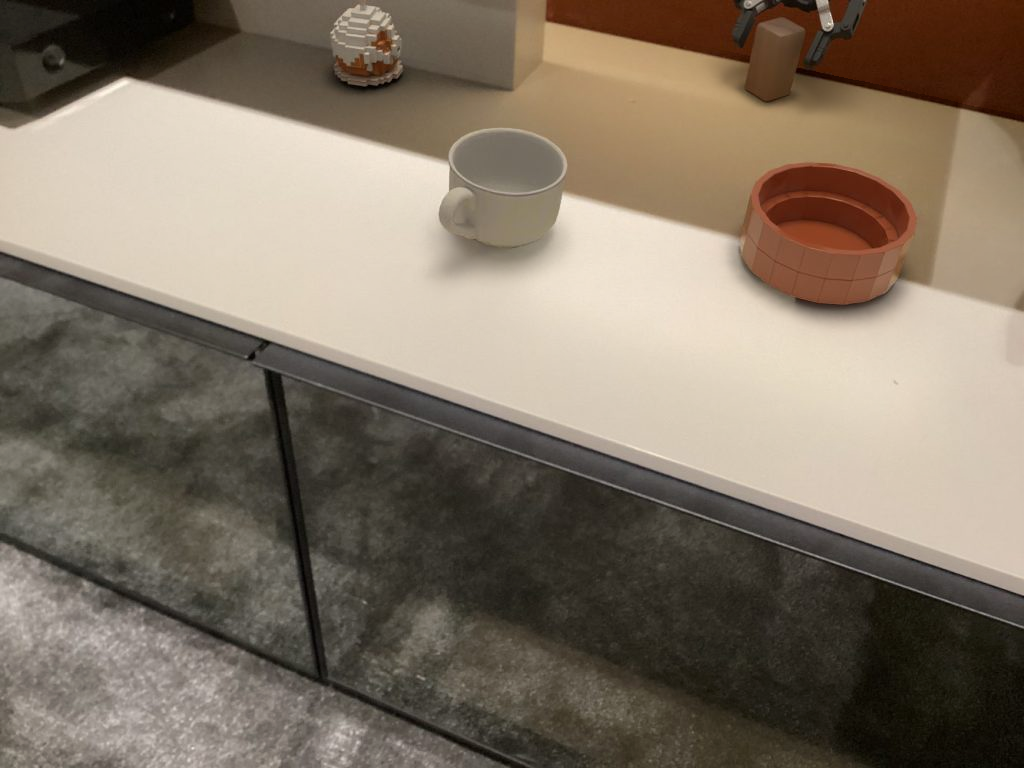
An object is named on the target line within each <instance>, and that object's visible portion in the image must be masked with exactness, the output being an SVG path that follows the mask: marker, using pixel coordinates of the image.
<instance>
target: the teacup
mask: <svg viewBox="0 0 1024 768" xmlns="http://www.w3.org/2000/svg"><path fill="white" fill-rule="evenodd" d="M447 161H448V162H447V163H448V166H449V170H448V171H449V172H448V174H449V175H448V192H447V193H446V194H445V195H444V197H443V199H442V200H441V203H440V205H439V209H438V220H439V223H440V225H441V226H442V227H443V228H444V229H445V230H447V232H449V233H452V234H454V235H458V236H462V237H464V238H466V239H468V240H473V239H474V240H475V241H477V242H479V243H481V244H483V245H485V246H489V247H491V248H496V249H497V248H498V249H515V248H520V247H523V246H526V245H529V244H531V243H533V242H536V241H537V240H540V239H541V238H542V237H544V236H545V235H547V233H549V231H551V229H552V228H553V226H554V225H555V224H556V221H557V219H558V215H559V212H560V210H561V209H560V208H561V204H562V198H563V194H564V193H563V192H564V185H565V180H566V179H565V178H566V176H567V173H568V167H569V166H568V160H567V157H566V155H565V154H564V152H563V150H561V148H559V146H558V145H557V144H555V143H553V142H552V141H551V140H550V139H548V138H547V137H546V136H542V135H539V134H537V133H534V132H532V131H529V130H524V129H519V128H511V127H491V128H489V127H487V128H483V129H478V130H475V131H472V132H469V133H466V134H464V135H462V136H461V137H460V138H458V140H456V141H455V142H454V143H453V144H452V145H451V147H450V149H449V151H448V157H447Z"/></svg>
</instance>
